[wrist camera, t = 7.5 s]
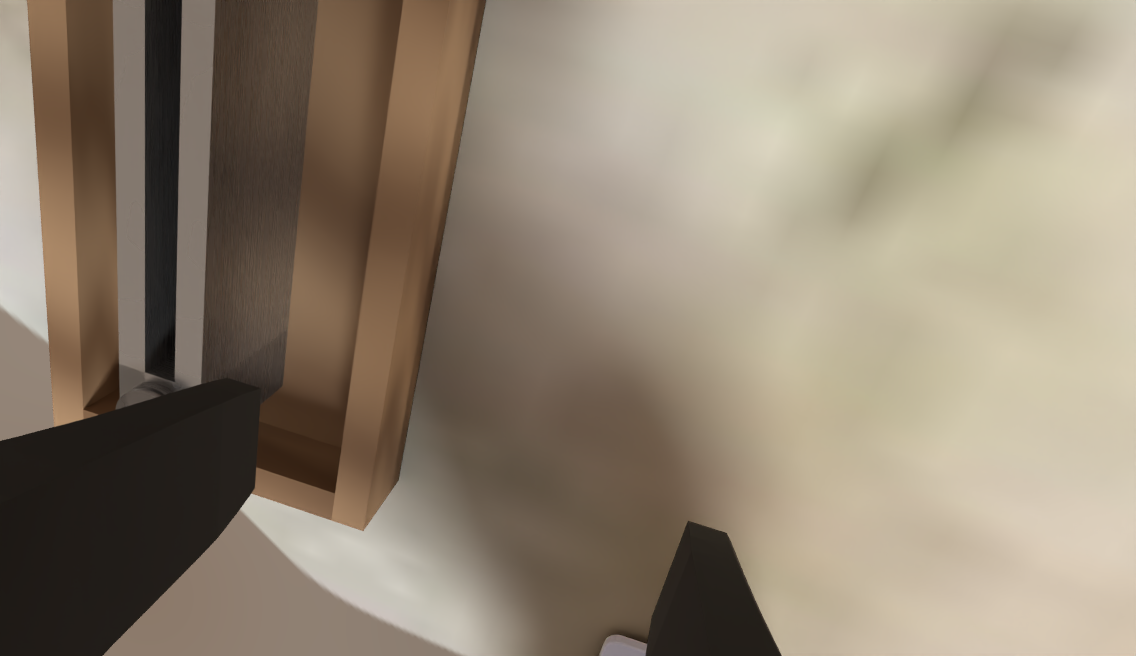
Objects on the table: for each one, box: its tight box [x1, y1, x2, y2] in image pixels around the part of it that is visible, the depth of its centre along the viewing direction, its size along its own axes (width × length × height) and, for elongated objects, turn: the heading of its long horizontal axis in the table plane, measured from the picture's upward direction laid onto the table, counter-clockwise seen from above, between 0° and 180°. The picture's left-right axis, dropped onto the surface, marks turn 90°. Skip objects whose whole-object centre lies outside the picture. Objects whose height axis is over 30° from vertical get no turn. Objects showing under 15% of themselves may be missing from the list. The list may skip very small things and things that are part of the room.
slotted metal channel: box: [113, 0, 318, 409], centre depth 17 cm, size 13×2×4 cm, turn 166°
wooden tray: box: [27, 0, 486, 531], centre depth 19 cm, size 18×10×3 cm, turn 166°
